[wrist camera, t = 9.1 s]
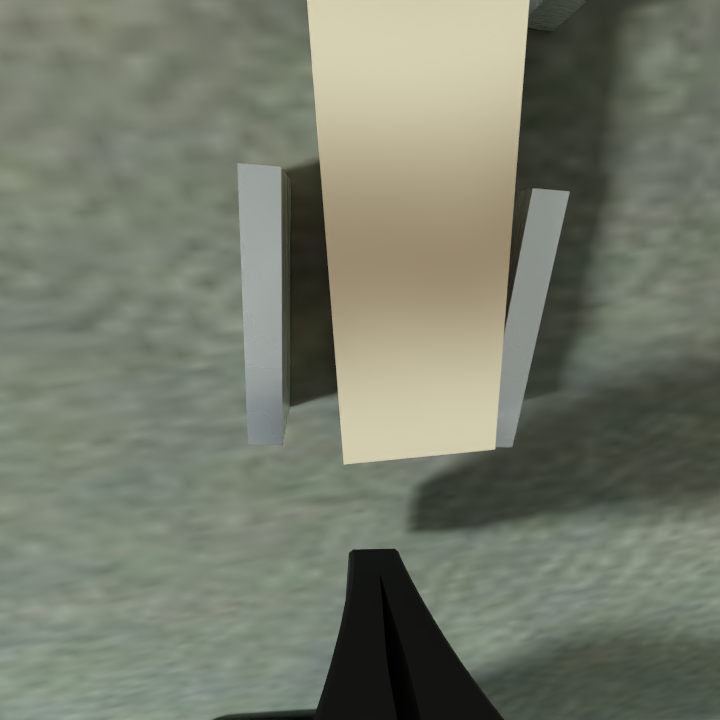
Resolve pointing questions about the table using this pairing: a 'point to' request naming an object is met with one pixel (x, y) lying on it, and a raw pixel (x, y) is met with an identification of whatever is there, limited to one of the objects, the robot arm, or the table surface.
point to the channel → (272, 297)
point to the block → (550, 12)
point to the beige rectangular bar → (418, 214)
